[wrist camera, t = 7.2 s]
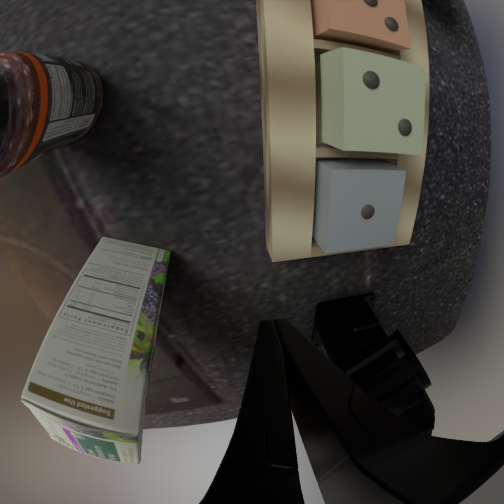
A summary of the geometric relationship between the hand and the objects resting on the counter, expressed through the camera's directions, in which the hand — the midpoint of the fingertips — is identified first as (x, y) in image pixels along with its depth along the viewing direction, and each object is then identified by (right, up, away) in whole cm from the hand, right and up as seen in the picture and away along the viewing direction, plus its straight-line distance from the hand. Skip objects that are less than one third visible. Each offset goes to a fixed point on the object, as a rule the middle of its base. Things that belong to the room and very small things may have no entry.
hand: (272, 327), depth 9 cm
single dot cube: (+6, +7, +10) cm, 14 cm away
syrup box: (-10, +1, +12) cm, 16 cm away
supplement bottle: (-13, +13, +5) cm, 19 cm away
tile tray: (+6, +13, +7) cm, 16 cm away
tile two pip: (+6, +12, +5) cm, 14 cm away
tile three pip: (+6, +18, +3) cm, 20 cm away
